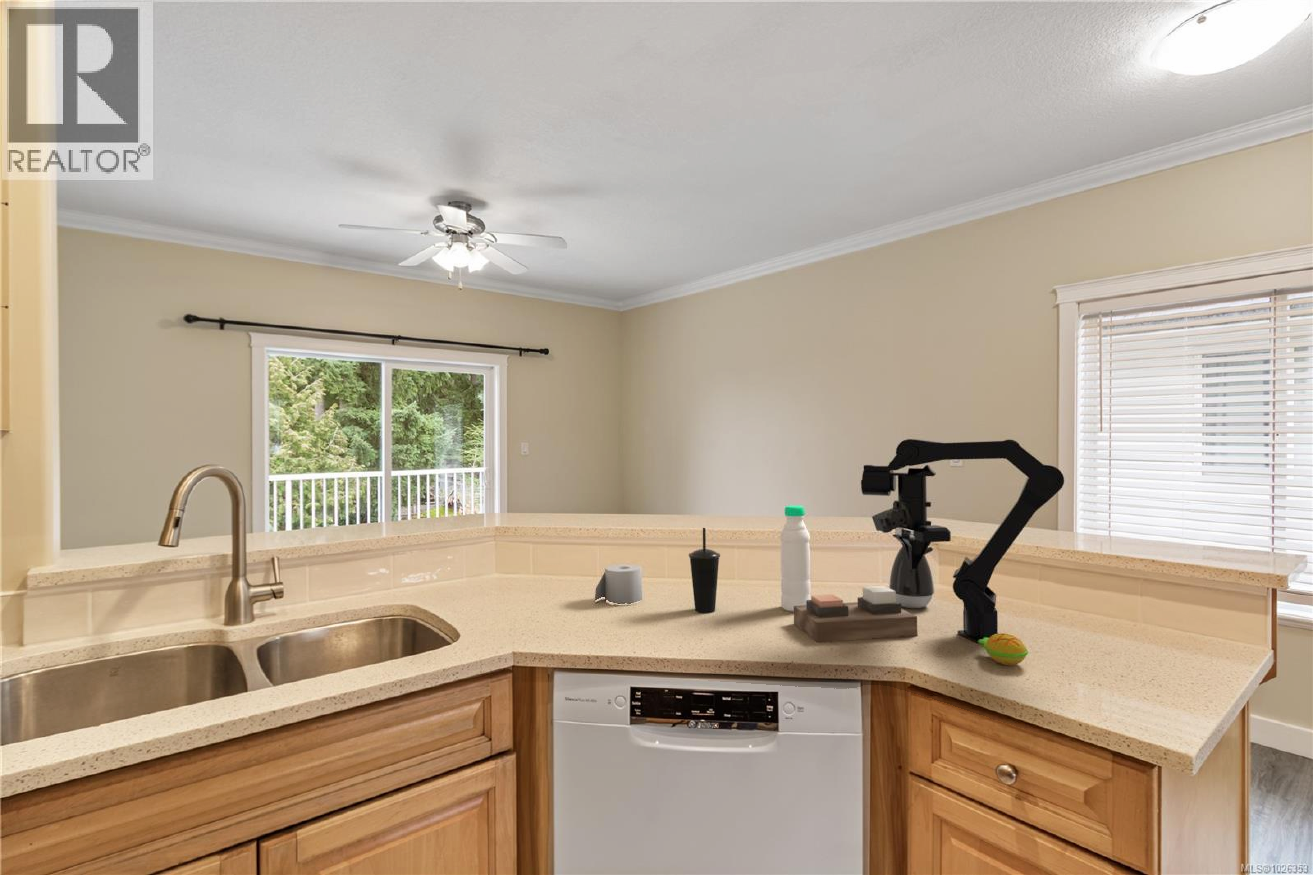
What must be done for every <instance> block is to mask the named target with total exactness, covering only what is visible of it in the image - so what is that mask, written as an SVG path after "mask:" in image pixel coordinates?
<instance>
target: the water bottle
mask: <svg viewBox="0 0 1313 875" xmlns="http://www.w3.org/2000/svg"><path fill="white" fill-rule="evenodd" d="M805 510H806V509H805V507H804V506H802V505H787V506H785V507H784V516H785V518H786V521H785V524H784V526H783V529H782V530H781V533H780V536H779V537H780V542H781V544H780V573H781V582H780V587H781V595H780V596H781V597H780V599H781V600H780V601H781V602H780V605H781V608H782V609H783V610H785V611H787V612H793V613H794V606H800V605H806V600H811V580H810V576H811V551H810V549H811V548H810V540H811V536H810V535H811V534H810V533H809V531H808V529H807V526H806V524H805V523H804V518H805Z"/></svg>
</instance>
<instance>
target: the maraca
mask: <svg viewBox="0 0 1313 875" xmlns="http://www.w3.org/2000/svg"><path fill="white" fill-rule="evenodd" d="M977 643H978V644H980V645H983V649H984V650H985V651H986V653H987V655H988V656H989V657H990V658H991V659H992V660H994V661H995V662H997V663H998V664H1002V665H1004V666H1014V665H1016V666H1017V665H1018V664H1020V663H1022V662H1023V661H1024V660H1025V658H1026V657H1027V655H1028V654H1029V650H1028V649H1027V647H1026V645H1025V644H1024V642H1023V641H1021V639H1019V638H1018V637H1017V636H1015V635H1013V634H1011V633H1010V634H1009V633H1007V632H998V634H994V635H992V636H991V637H990V638H987V637H985V638H983V640H979V641H978V642H977Z"/></svg>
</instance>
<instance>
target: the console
mask: <svg viewBox="0 0 1313 875" xmlns="http://www.w3.org/2000/svg"><path fill="white" fill-rule="evenodd" d="M793 625H794V626H796V627H798V628H799V629H800V630H801V631H803V632H804V633H805V634H807V635H808V637H810V638H811V639H813V640H814V641H815V642H816V643H826V642H828V641H829V642H840V641H842V642H843V641H856V640H871V639H872V638H875V639H887V638H886V637H890V638H900V637H899V636H905V637H915V636H916V637H917V636H918V616H917V615H916V614H915V615H914V613H910V612H909V611H907V610H905V609H903V608H902V606H901V603H899V602H897V601H896V603H888V604H872V603H870V602H868V601H866V600H864V599H863V596H858V597H857V601H854V602H843V606H836V607H819V606H817V605H815V604H814V603H812V602H811V600H806V605H800V606H794V612H793ZM872 640H873V639H872Z"/></svg>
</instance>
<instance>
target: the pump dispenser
mask: <svg viewBox="0 0 1313 875" xmlns="http://www.w3.org/2000/svg"><path fill="white" fill-rule="evenodd" d="M933 551H934V548H933V547H932V546H928V548H927V549H926V551H925V553H924V555H923V557H922V559H921V561H920V563H919V565H918V566H917V568H916V569H911V568H910V567H909V564H908V561H907V558H906V555H905V552H904V549H903V546H902V545H901V547H900V548H899V550H898V552H897V553H896V555H895V558H894V560H893V563H892V566H891V571H890V576H889V582H888V583H889V585H888V586H889V587H888V588H889V589H892V590H894V591H896V601H897V602H899V603H901V607H903V608H906V609H921V608H924V607H927V606H928V605H929V604H930V602H931V600H932V599H933V598H932V597H933V595H934V593H935V586H934V580H933V574H932V570H931V567H930V564H929V562H928V559H927V557H926V555H927V554H930V553H931V552H933Z"/></svg>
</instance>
